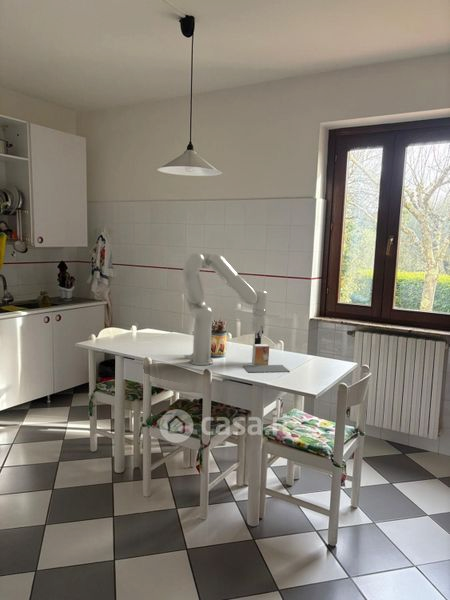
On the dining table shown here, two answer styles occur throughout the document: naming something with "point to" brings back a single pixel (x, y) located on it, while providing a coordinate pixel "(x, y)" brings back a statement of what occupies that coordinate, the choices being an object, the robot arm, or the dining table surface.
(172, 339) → the dining table surface
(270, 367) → the mat
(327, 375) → the dining table surface
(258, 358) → the small box
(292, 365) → the dining table surface
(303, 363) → the dining table surface
